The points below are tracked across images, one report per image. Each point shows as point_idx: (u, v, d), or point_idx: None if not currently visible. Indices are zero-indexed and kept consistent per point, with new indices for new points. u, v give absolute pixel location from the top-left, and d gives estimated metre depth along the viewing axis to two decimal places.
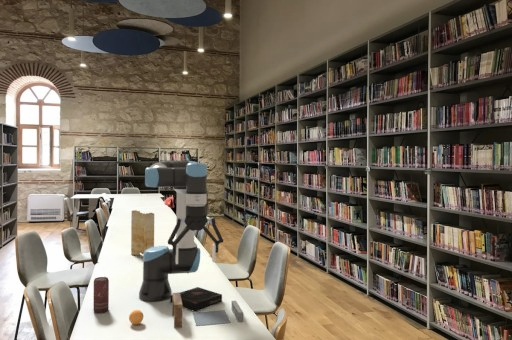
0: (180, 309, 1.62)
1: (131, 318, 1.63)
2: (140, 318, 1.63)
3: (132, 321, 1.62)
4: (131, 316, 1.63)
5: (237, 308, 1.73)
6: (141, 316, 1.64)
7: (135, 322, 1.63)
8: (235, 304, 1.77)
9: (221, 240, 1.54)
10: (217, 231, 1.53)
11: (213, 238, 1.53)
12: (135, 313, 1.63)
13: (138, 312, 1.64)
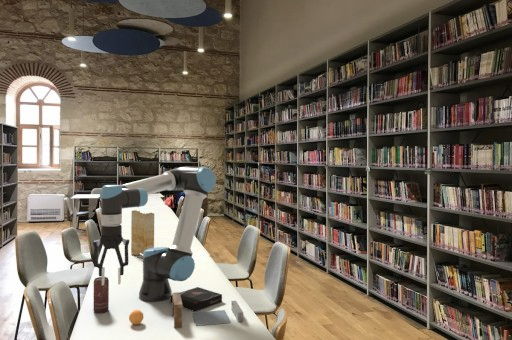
0: (180, 309, 1.62)
1: (131, 318, 1.63)
2: (140, 318, 1.63)
3: (132, 321, 1.62)
4: (131, 316, 1.63)
5: (237, 308, 1.73)
6: (141, 316, 1.64)
7: (135, 322, 1.63)
8: (235, 304, 1.77)
9: (126, 263, 1.62)
10: (126, 253, 1.62)
11: (120, 260, 1.62)
12: (135, 313, 1.63)
13: (138, 312, 1.64)
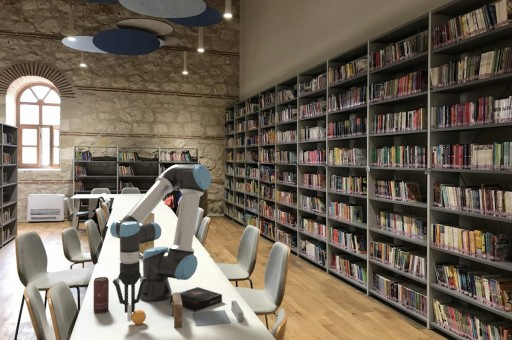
0: (180, 309, 1.62)
1: (134, 317, 1.63)
2: (142, 319, 1.63)
3: (134, 320, 1.63)
4: (134, 315, 1.63)
5: (237, 308, 1.73)
6: (144, 317, 1.64)
7: (137, 322, 1.63)
8: (235, 304, 1.77)
9: (137, 300, 1.64)
10: (140, 291, 1.64)
11: (133, 297, 1.63)
12: (138, 313, 1.63)
13: (141, 312, 1.64)
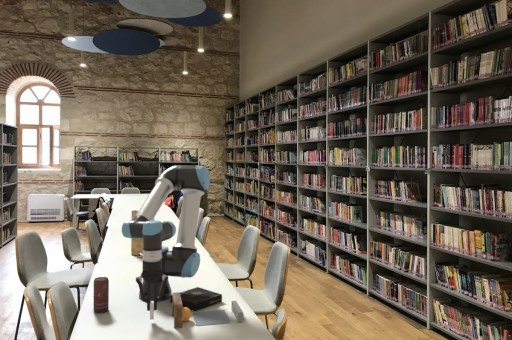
0: (180, 309, 1.62)
1: None
2: (189, 315, 1.67)
3: None
4: None
5: (237, 308, 1.73)
6: (189, 313, 1.68)
7: (184, 319, 1.67)
8: (235, 304, 1.77)
9: (159, 298, 1.66)
10: (162, 289, 1.66)
11: (155, 295, 1.65)
12: (184, 310, 1.67)
13: (187, 309, 1.68)
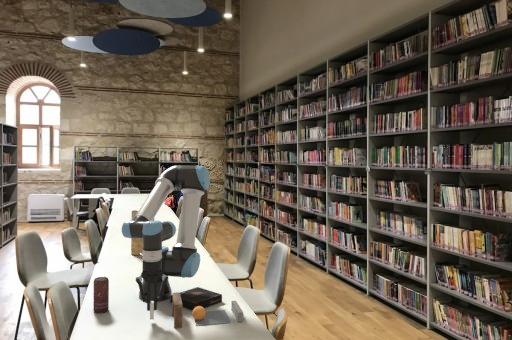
0: (180, 309, 1.62)
1: (202, 312, 1.68)
2: (196, 318, 1.68)
3: (199, 311, 1.68)
4: (204, 313, 1.69)
5: (237, 308, 1.73)
6: (197, 319, 1.69)
7: (197, 313, 1.68)
8: (235, 304, 1.77)
9: (159, 298, 1.66)
10: (162, 289, 1.66)
11: (155, 295, 1.65)
12: (203, 317, 1.69)
13: None
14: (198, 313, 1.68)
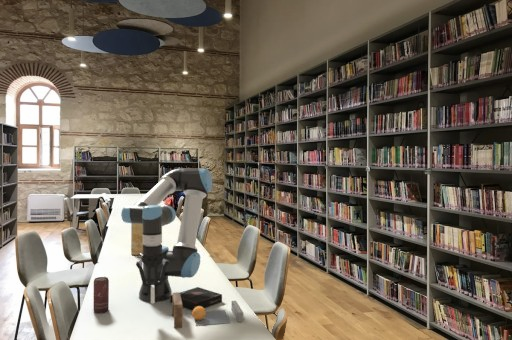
0: (180, 309, 1.62)
1: (202, 312, 1.68)
2: (196, 318, 1.68)
3: (199, 311, 1.68)
4: (204, 313, 1.69)
5: (237, 308, 1.73)
6: (197, 319, 1.69)
7: (197, 313, 1.68)
8: (235, 304, 1.77)
9: (160, 282, 1.66)
10: (162, 273, 1.66)
11: (156, 279, 1.66)
12: (203, 317, 1.69)
13: None
14: (198, 313, 1.68)
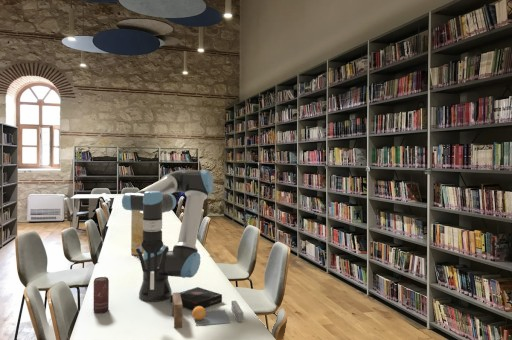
0: (180, 309, 1.62)
1: (202, 312, 1.68)
2: (196, 318, 1.68)
3: (199, 311, 1.68)
4: (204, 313, 1.69)
5: (237, 308, 1.73)
6: (197, 319, 1.69)
7: (197, 313, 1.68)
8: (235, 304, 1.77)
9: (160, 268, 1.65)
10: (162, 259, 1.66)
11: (155, 265, 1.65)
12: (203, 317, 1.69)
13: None
14: (198, 313, 1.68)
